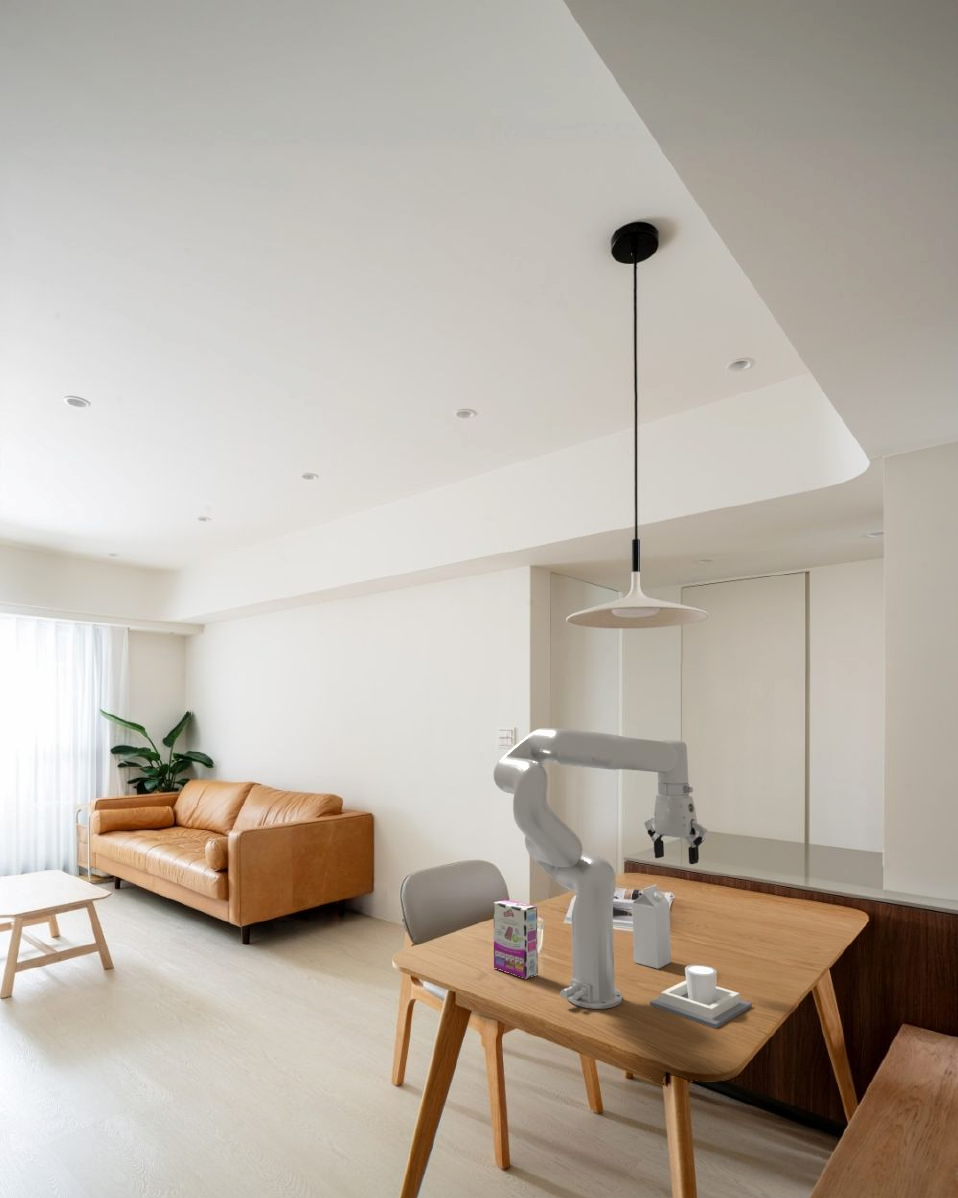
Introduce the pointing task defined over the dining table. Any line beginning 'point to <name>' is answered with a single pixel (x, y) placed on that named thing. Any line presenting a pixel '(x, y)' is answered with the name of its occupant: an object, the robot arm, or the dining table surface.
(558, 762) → the robot arm
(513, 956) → the candy bar box
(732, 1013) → the holder tray
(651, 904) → the milk carton
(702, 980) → the white cup
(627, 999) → the dining table surface
